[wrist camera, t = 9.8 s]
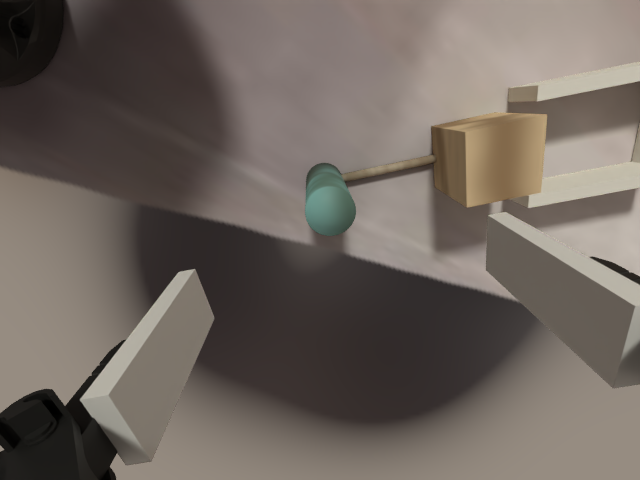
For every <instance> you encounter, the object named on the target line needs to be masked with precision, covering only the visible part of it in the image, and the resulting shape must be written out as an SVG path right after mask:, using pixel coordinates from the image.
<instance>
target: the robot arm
mask: <svg viewBox="0 0 640 480" xmlns="http://www.w3.org/2000/svg"><path fill="white" fill-rule="evenodd" d="M62 23H63V5H62V0H0V87H3V86H11V85H16V84H20V83H22V82H25V81H27V80H29V79H31V78H33V77H34V76H36V75H37V74H38V73H40V72H41V71H42V70H43V69H44V68H45V67H46V66H47V64H48V63H49V62H50V60H51V59H52V57H53V55H54V53H55V51H56V49H57V46H58V43H59V40H60V36H61V31H62ZM486 271H488V272H489V273H490V274H491V275H492V276H493V277H494V278H495V279H496V280H497V281H498V282H499V283H500V284H501V285H503V286H504V287H505V288H506V289H507V290H508V291H509V292H510V293H511V294H512V295H513V296H514V297H515V298H516V299H518V300H519V301H520V302H521V303H522V304H523V305H524V306H525V307H526V308H527V309H528V310H529V311H530V312H532V313H533V314H534V315H535V316H536V317H537V318H538V319H539V320H540V321H541V322H542V323H544V324H545V326H547V327H548V328H549V329H550V330H551V331H552V332H553V333H554V334H555V335H556V336H557V337H558V338H559V339H560V340H562V341H563V342H564V343H565V344H566V345H567V346H568V347H569V348H570V349H571V350H572V351H573V352H574V353H576V354H577V355H578V356H579V357H580V358H581V359H582V360H583V361H584V362H585V363H586V364H587V365H588V366H589V367H591V368H592V369H593V370H594V371H595V372H596V373H597V374H598V375H599V376H600V377H601V378H602V379H603V380H605V381H606V382H607V383H608V384H609V385H610V386H611V387H612V388H619V387H625V386H632V385H638V384H640V276H638V275H636V274H634V273H629V271H628V270H626V269H624V268H622V267H620V266H618V265H616V264H615V263H613V262H609V261H606V260H603V259H599V258H596V257H587V256H586V255H584V254H582V253H580V252H578V251H576V250H575V249H573V248H571V247H569V246H567V245H565V244H564V243H562V242H560V241H558V240H556V239H554V238H553V237H551V236H549V235H547V234H545V233H543V232H542V231H540V230H538V229H536V228H534V227H532V226H531V225H529V224H527V223H525V222H523V221H521V220H520V219H518V218H516V217H514V216H512V215H510V214H508V213H507V212H502V213H497V214H491V215H488V220H487V250H486ZM213 320H214V316H213V313H212V311H211V308H210V305H209V303H208V301H207V298H206V296H205V293H204V291H203V288H202V285H201V283H200V280H199V278H198V275H197V273H196V270H195V269H193V270H187V271H182V272H178V274H177V275H176V276H175V277H174V279H173V280H172V281H171V283H170V284H169V285H168V286H167V288H166V289H165V290H164V292H163V293H162V294H161V296H160V297H159V298H158V299H157V301H156V302H155V303H154V305H153V306H152V307H151V308H150V310H149V311H148V312H147V314H146V315H145V316H144V317H143V319H142V320H141V321H140V323H139V324H138V325H137V327H136V328H135V329H134V330H133V332H132V333H131V334H130V336H129V337H128V338H127V339H126V340H123V341H122V342H120V343H119V344H118V345H117V346H116V347H114V348H113V349H112V350H111V351H109V353H108V354H107V355H106V356H105V357H104V359H103V360H102V361H101V362H100V366H97V368H96V369H95V370H94V371H93V372H92V376H89V377H88V379H87V380H86V381H85V382H84V383H83V385H82V386H81V387H80V389H79V390H78V391H77V392H76V394H75V395H74V396H73V397H72V398H71V400H70V401H69V402H68V403H67V405H66V406H64V405H63V403H62V402H61V400H60V399H59V398H58V396H57V395H56V394H55V392H54V391H53V390H52V389H43V390H39V391H36V392H33V393H31V394H29V395H26V396H24V397H23V398H21V399H19V400H18V401H16V402H14V403H13V404H11V405H10V406H9V407H8V408H7V409H5V410H4V411H3V412H1V413H0V445H1V446H2V447H3V448H4V450H3V451H1V452H0V480H116V476H115V473H114V472H113V471H112V469H111V468H110V465H111V463H112V461H113V459H114V457H115V456H116V454H117V453H118V455H119V456H120V457H121V459H122V460H123V462H124V463H125V465H131V464H138V463H144V462H151V461H152V459H153V457H154V454H155V452H156V450H157V447H158V445H159V443H160V441H161V438H162V436H163V434H164V431H165V429H166V427H167V425H168V422H169V420H170V418H171V415H172V413H173V411H174V409H175V407H176V404H177V402H178V400H179V397H180V395H181V393H182V391H183V388H184V386H185V384H186V381H187V379H188V377H189V375H190V372H191V370H192V368H193V366H194V363H195V361H196V359H197V357H198V354H199V352H200V350H201V347H202V345H203V343H204V341H205V338H206V336H207V334H208V332H209V329H210V327H211V325H212V322H213Z"/></svg>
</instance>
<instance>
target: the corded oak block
mask: <svg viewBox="0 0 640 480" xmlns="http://www.w3.org/2000/svg"><path fill="white" fill-rule="evenodd" d="M546 125H547V114H524V113H496V112H495V113H490V114H486V115H481V116H476V117H472V118H467V119H463V120H458V121H454V122H449V123H444V124H440V125H435V126H431V129H432V145H433V155H430V156H425V157H420V158H416V159H411V160H406V161H402V162H397V163H392V164H388V165H383V166H378V167H374V168H369V169H364V170H360V171H355V172H350V173H346V174H341V173H340V171H339V170H338V169H337V168H336V167H335V166H333V165H331V164H328V163H320V164H317V165H315V166H314V167H313V168H311V170H310V171H309V173H308V175H307V179H306V205H305V215H306V220H307V222H308V224H309V226H310V227H311V228H312V229H313V230H314V231H316V232H317V233H319V234H322V235H326V236H334V235H338V234H341V233H343V232H344V231H346V230H347V229H348V228H349V227H350V226H351V225H352V223H353V221H354V219H355V215H356V207H355V204H354V201H353V199H352V197H351V195H350V192H349V190H348V188H347V186H346V184H345V182H347V181H352V180H357V179H361V178H366V177H371V176H376V175H380V174H385V173H390V172H394V171H399V170H404V169H409V168H413V167H418V166H423V165H427V164H432V163H434V179H435V188H437V189H439V190H440V191H442V192H443V193H445V194H446V195H448V196H449V197H451V198H453V199H454V200H456V201H457V202H459V203H460V204H462V205H463V206H465V207H466V208H468V207H473V206H478V205H482V204H487V203H492V202H497V201H502V200H507V199H512V198H517V197H522V196H527V195H532V194H536V193H541V187H542V174H543V162H544V150H545V137H546Z"/></svg>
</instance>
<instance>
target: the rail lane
mask: <svg viewBox="0 0 640 480" xmlns="http://www.w3.org/2000/svg"><path fill="white" fill-rule="evenodd" d="M638 81H640V62H635V63H630V64H625V65H620V66H615V67H610V68H605V69H600V70H595V71H590V72H585V73H581V74H576V75H571V76H566V77H561V78H556V79H551V80H546V81H541V82H536V83H531V84H526V85H521V86H516V87H511V88H509V94H508V102H537V101H542V100H547V99H552V98H557V97H562V96H567V95H572V94H577V93H582V92H587V91H592V90H597V89H602V88H607V87H612V86H618V85H623V84H628V83H633V82H638ZM635 188H640V124H639V128H638V133H637V138H636V143H635V147H634V152H633V157H632V162H626V163H621V164H616V165H611V166H605V167H600V168H595V169H589V170H584V171H579V172H573V173H568V174H563V175H557V176H552V177H547V178H542V187H541V193H536V194H532V195H527V196H522V197H517V198H512V199H509V200H512V201H514V202H516V203H518V204H520V205H522V206H524V207H527V208H532V207H537V206H543V205H548V204H554V203H559V202H565V201H570V200H575V199H581V198H586V197H592V196H597V195H603V194H608V193H613V192H619V191H624V190H630V189H635Z"/></svg>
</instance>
